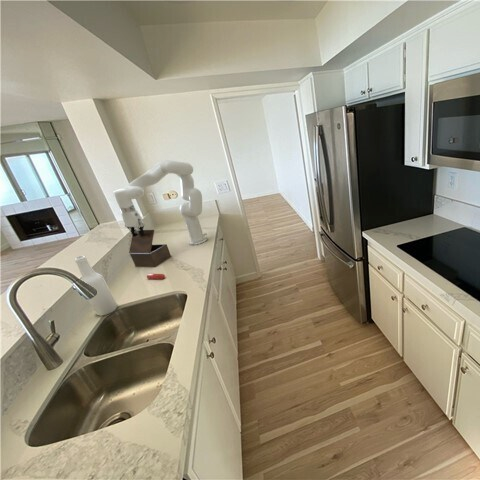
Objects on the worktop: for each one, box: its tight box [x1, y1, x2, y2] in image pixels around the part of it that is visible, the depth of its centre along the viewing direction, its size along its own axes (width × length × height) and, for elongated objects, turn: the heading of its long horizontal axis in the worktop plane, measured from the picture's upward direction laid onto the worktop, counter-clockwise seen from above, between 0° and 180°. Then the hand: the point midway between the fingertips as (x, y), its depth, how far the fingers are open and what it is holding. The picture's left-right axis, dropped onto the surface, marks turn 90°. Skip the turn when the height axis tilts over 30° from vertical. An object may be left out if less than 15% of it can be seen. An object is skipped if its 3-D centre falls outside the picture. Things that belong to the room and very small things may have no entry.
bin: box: [129, 243, 172, 268], centre depth 181 cm, size 15×17×10 cm
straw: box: [146, 273, 166, 280], centre depth 158 cm, size 12×3×3 cm, turn 77°
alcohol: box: [74, 255, 118, 317], centre depth 126 cm, size 9×9×30 cm
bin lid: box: [128, 229, 155, 254], centre depth 172 cm, size 15×17×5 cm
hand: (139, 235), depth 172 cm, fingers closed on bin lid, 5 cm apart
